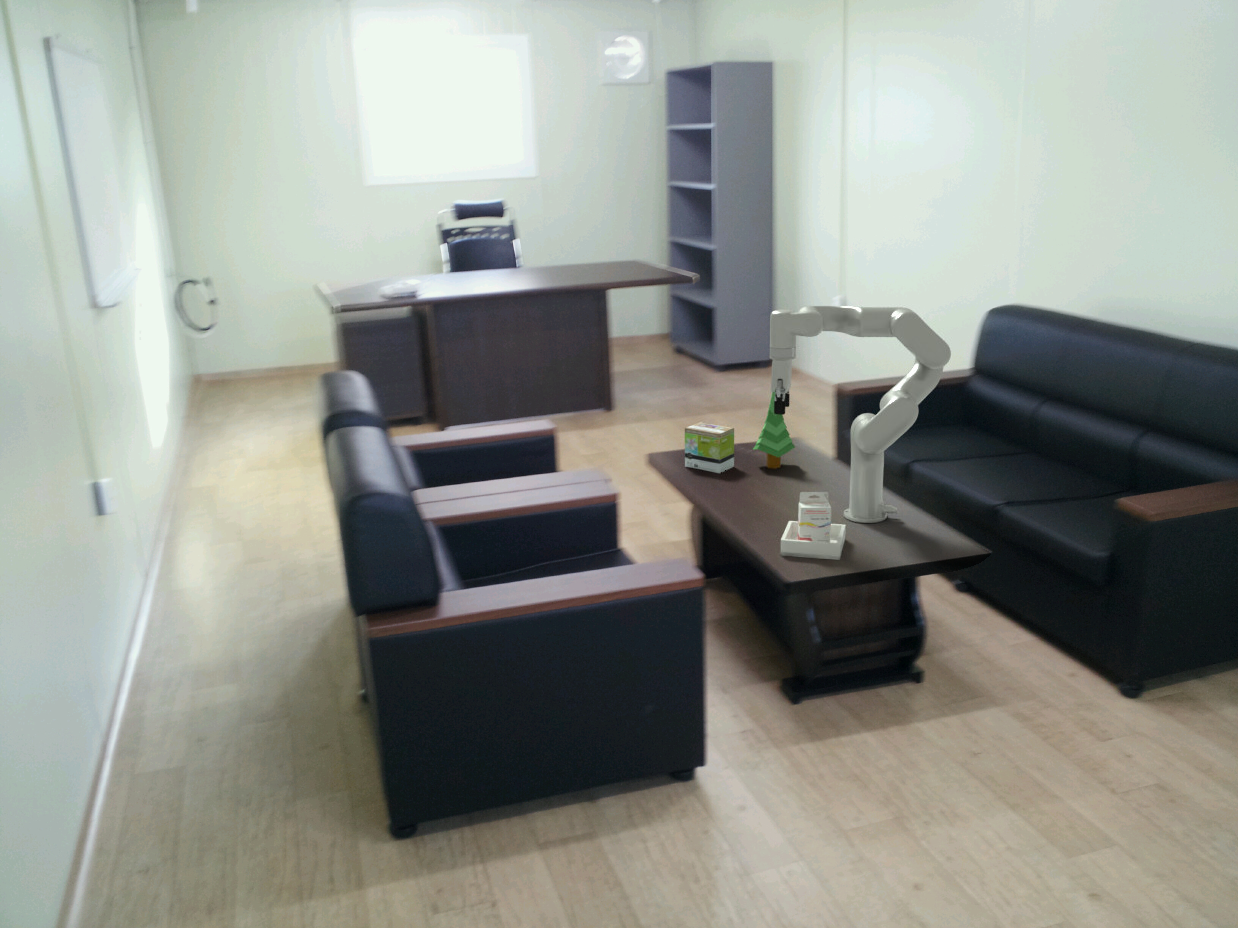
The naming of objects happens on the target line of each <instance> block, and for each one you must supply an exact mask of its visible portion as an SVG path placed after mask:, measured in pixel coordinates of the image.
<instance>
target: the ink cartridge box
mask: <svg viewBox="0 0 1238 928" xmlns="http://www.w3.org/2000/svg"><path fill="white" fill-rule="evenodd" d="M813 496H816V497H813ZM829 496H830V493H829V492H827V491H801V492H800V493H799V501H798V515H797V516H798V517H797V518H798V519H797V521H798V540H805V541H818V542H830V534H831V524H832V506H831V504H830V502H829Z"/></svg>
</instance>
